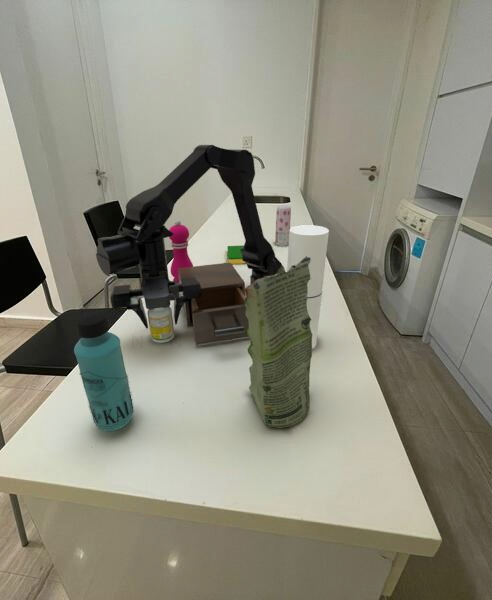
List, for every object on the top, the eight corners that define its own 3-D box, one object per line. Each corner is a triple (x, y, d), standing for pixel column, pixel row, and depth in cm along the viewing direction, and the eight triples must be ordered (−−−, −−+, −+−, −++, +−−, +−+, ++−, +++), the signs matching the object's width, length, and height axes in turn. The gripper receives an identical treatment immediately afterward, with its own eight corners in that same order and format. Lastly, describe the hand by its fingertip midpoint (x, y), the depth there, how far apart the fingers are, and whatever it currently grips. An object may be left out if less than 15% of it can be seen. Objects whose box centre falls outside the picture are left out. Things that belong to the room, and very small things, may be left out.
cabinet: (245, 317, 83) (245, 282, 79) (187, 326, 80) (183, 290, 76) (231, 293, 96) (230, 262, 91) (181, 300, 93) (177, 268, 89)
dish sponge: (245, 251, 129) (245, 245, 128) (248, 263, 117) (248, 257, 116) (227, 251, 129) (227, 245, 128) (228, 264, 117) (227, 257, 116)
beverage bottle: (100, 410, 57) (72, 307, 48) (139, 406, 57) (119, 304, 48) (90, 441, 51) (56, 331, 42) (133, 437, 51) (109, 327, 42)
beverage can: (291, 243, 136) (293, 206, 129) (285, 246, 132) (287, 208, 125) (278, 241, 139) (280, 204, 132) (272, 244, 135) (274, 207, 128)
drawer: (261, 347, 70) (262, 315, 66) (198, 357, 67) (196, 324, 64) (239, 308, 86) (238, 280, 82) (187, 315, 83) (185, 287, 80)
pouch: (244, 430, 52) (244, 285, 40) (244, 379, 62) (243, 253, 51) (316, 431, 51) (336, 284, 40) (303, 379, 62) (316, 251, 50)
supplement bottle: (167, 345, 73) (162, 307, 69) (146, 340, 75) (140, 303, 71) (178, 332, 78) (174, 296, 73) (159, 329, 80) (154, 293, 75)
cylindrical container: (296, 355, 69) (306, 237, 57) (276, 338, 74) (281, 228, 63) (323, 345, 71) (337, 231, 60) (301, 329, 77) (311, 223, 66)
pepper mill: (191, 289, 99) (185, 222, 90) (168, 287, 101) (160, 222, 92) (197, 279, 106) (193, 216, 96) (176, 278, 107) (169, 216, 98)
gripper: (101, 281, 59) (117, 352, 66) (203, 269, 63) (208, 338, 70) (106, 260, 69) (120, 324, 76) (195, 251, 72) (200, 313, 79)
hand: (161, 325), depth 75 cm, fingers open, 6 cm apart
